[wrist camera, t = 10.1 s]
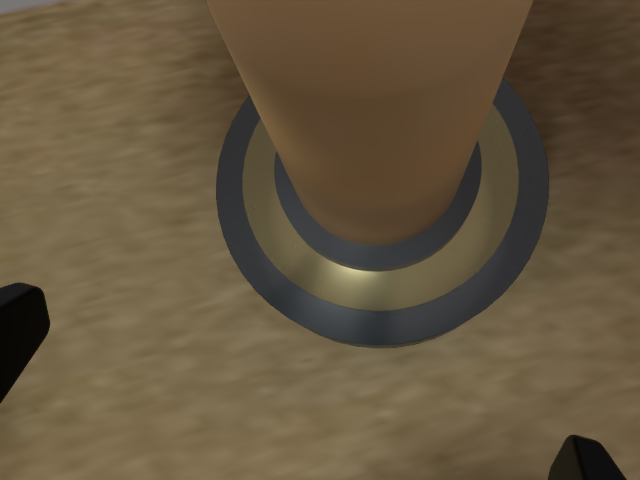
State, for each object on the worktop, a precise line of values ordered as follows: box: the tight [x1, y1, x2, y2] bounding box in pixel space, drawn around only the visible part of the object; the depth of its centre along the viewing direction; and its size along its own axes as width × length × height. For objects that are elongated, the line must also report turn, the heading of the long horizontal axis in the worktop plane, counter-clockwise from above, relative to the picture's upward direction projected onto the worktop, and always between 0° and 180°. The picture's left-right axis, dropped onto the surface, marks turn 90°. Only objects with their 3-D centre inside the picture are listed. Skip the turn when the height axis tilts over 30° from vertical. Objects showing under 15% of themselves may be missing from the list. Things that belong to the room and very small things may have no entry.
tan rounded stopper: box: [206, 0, 533, 272], centre depth 13 cm, size 6×6×10 cm
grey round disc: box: [216, 78, 549, 348], centre depth 19 cm, size 11×11×3 cm
